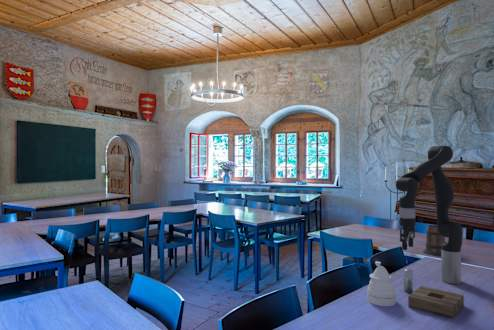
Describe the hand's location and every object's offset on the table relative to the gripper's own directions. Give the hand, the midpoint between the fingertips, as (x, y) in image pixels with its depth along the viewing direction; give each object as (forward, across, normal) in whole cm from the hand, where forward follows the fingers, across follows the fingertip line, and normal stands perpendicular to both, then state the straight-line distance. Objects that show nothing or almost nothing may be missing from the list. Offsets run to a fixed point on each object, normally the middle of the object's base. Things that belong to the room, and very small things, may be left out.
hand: (407, 248), depth 176 cm
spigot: (+22, 0, 0) cm, 22 cm away
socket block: (+22, +11, +16) cm, 29 cm away
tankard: (+22, -94, -12) cm, 97 cm away
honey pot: (+22, +21, -5) cm, 31 cm away
